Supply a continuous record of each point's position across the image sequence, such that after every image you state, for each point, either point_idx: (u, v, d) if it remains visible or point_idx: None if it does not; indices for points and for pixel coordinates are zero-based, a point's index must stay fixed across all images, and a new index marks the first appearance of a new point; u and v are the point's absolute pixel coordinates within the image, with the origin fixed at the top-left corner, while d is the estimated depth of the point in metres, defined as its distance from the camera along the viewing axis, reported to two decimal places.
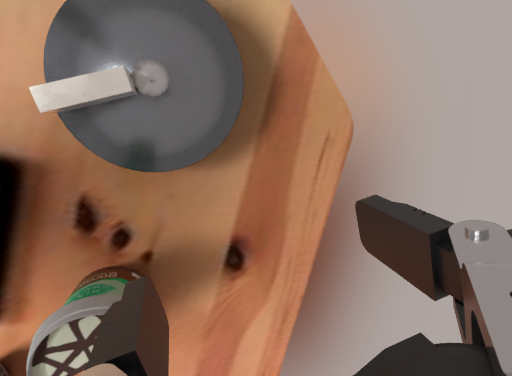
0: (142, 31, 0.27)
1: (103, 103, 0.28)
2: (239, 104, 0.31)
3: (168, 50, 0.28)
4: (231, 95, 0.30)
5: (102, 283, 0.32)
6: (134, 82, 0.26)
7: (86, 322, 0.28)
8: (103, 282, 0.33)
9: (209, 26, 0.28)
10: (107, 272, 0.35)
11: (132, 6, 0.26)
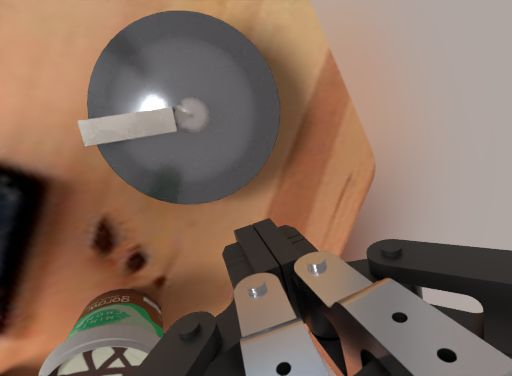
0: (187, 68, 0.27)
1: None
2: (272, 144, 0.31)
3: (210, 88, 0.28)
4: (265, 135, 0.30)
5: (115, 308, 0.32)
6: (175, 118, 0.26)
7: (100, 352, 0.27)
8: (116, 307, 0.32)
9: (252, 68, 0.29)
10: (119, 295, 0.34)
11: (181, 43, 0.27)
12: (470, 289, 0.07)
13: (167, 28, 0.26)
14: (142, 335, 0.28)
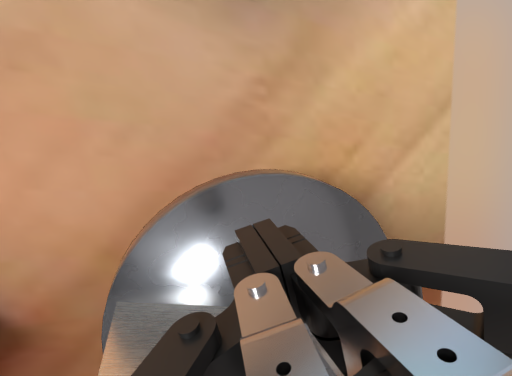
0: None
1: None
2: None
3: None
4: None
5: None
6: None
7: None
8: None
9: None
10: None
11: (299, 225, 0.17)
12: (470, 289, 0.07)
13: (290, 200, 0.16)
14: None
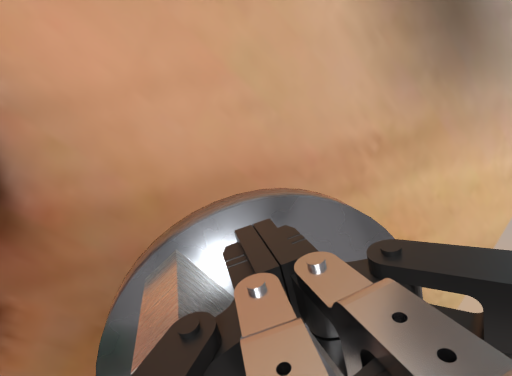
0: None
1: None
2: None
3: None
4: None
5: None
6: None
7: None
8: None
9: None
10: None
11: None
12: (470, 289, 0.07)
13: None
14: None
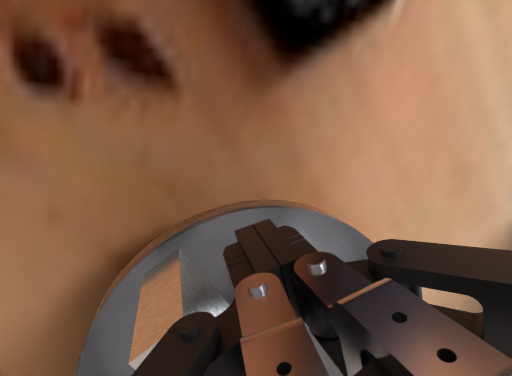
0: None
1: None
2: None
3: None
4: None
5: None
6: None
7: None
8: None
9: None
10: None
11: None
12: (470, 289, 0.07)
13: None
14: None
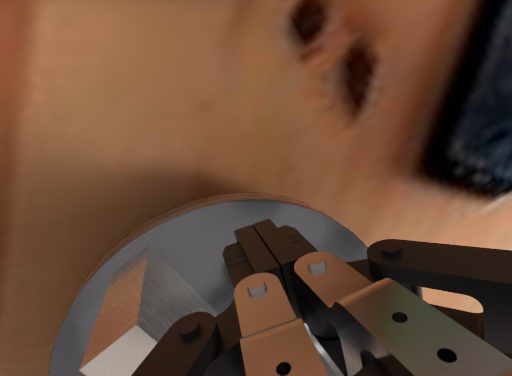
0: None
1: None
2: None
3: None
4: None
5: None
6: None
7: None
8: None
9: None
10: None
11: None
12: (470, 289, 0.07)
13: None
14: None
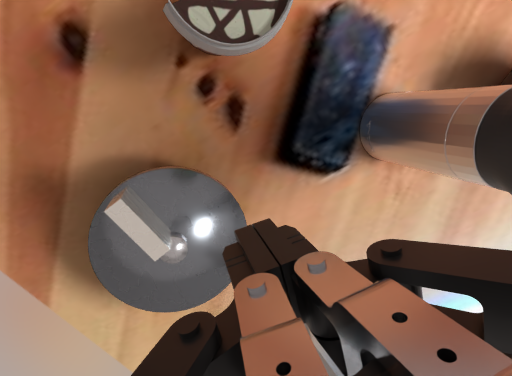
0: (204, 225, 0.35)
1: None
2: (186, 308, 0.37)
3: (200, 246, 0.35)
4: (190, 299, 0.37)
5: None
6: None
7: (237, 31, 0.27)
8: None
9: None
10: None
11: (217, 213, 0.35)
12: (470, 289, 0.07)
13: (221, 200, 0.35)
14: (197, 43, 0.27)
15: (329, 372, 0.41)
